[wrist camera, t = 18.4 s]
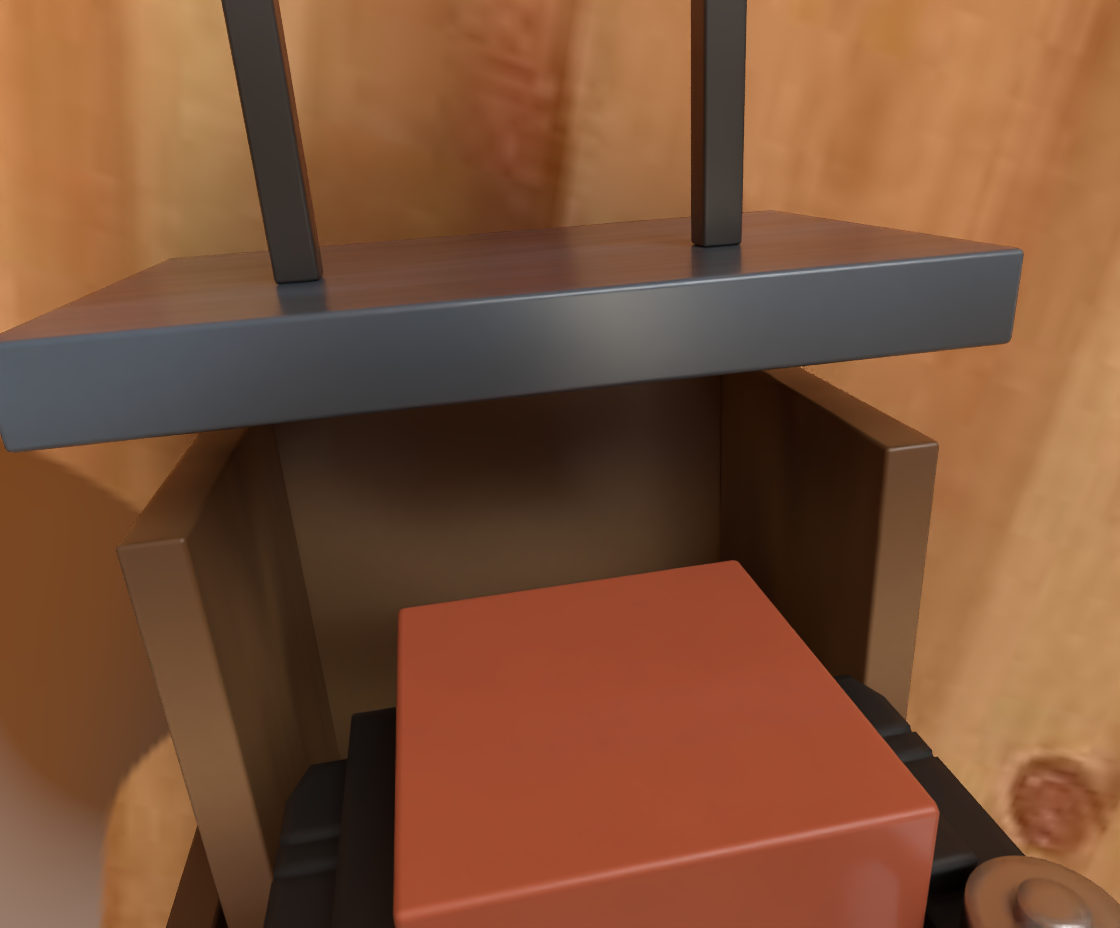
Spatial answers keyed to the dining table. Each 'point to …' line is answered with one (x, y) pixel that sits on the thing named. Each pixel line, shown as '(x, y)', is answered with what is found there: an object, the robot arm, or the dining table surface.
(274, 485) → the drawer
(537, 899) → the block
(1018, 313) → the dining table surface
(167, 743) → the dining table surface
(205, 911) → the cabinet
